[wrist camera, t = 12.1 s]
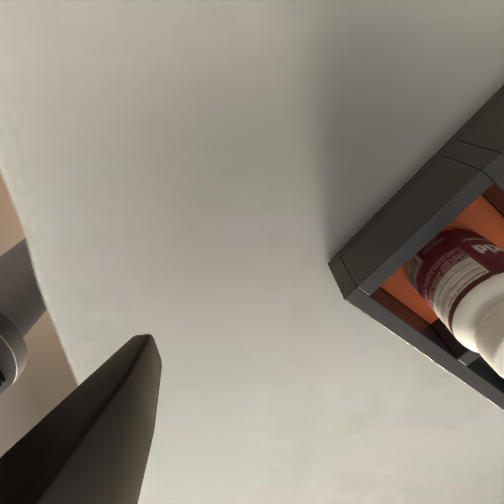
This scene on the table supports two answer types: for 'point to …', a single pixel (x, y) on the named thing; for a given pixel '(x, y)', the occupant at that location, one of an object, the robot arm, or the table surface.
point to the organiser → (422, 232)
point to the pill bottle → (464, 288)
